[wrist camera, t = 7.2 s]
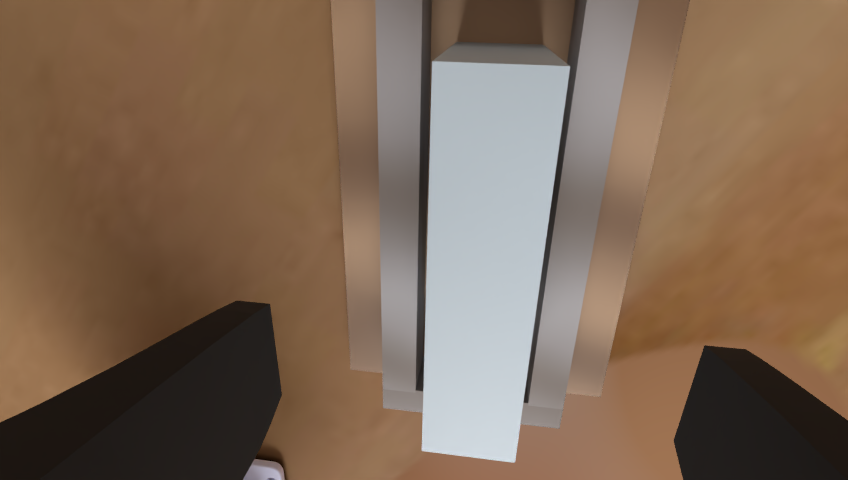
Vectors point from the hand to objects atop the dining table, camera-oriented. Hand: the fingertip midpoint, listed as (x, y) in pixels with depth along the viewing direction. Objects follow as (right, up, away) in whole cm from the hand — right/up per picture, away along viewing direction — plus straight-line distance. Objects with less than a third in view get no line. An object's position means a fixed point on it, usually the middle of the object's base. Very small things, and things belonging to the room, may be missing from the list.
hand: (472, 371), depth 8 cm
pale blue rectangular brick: (+1, +3, +8) cm, 9 cm away
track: (+1, +4, +9) cm, 10 cm away
